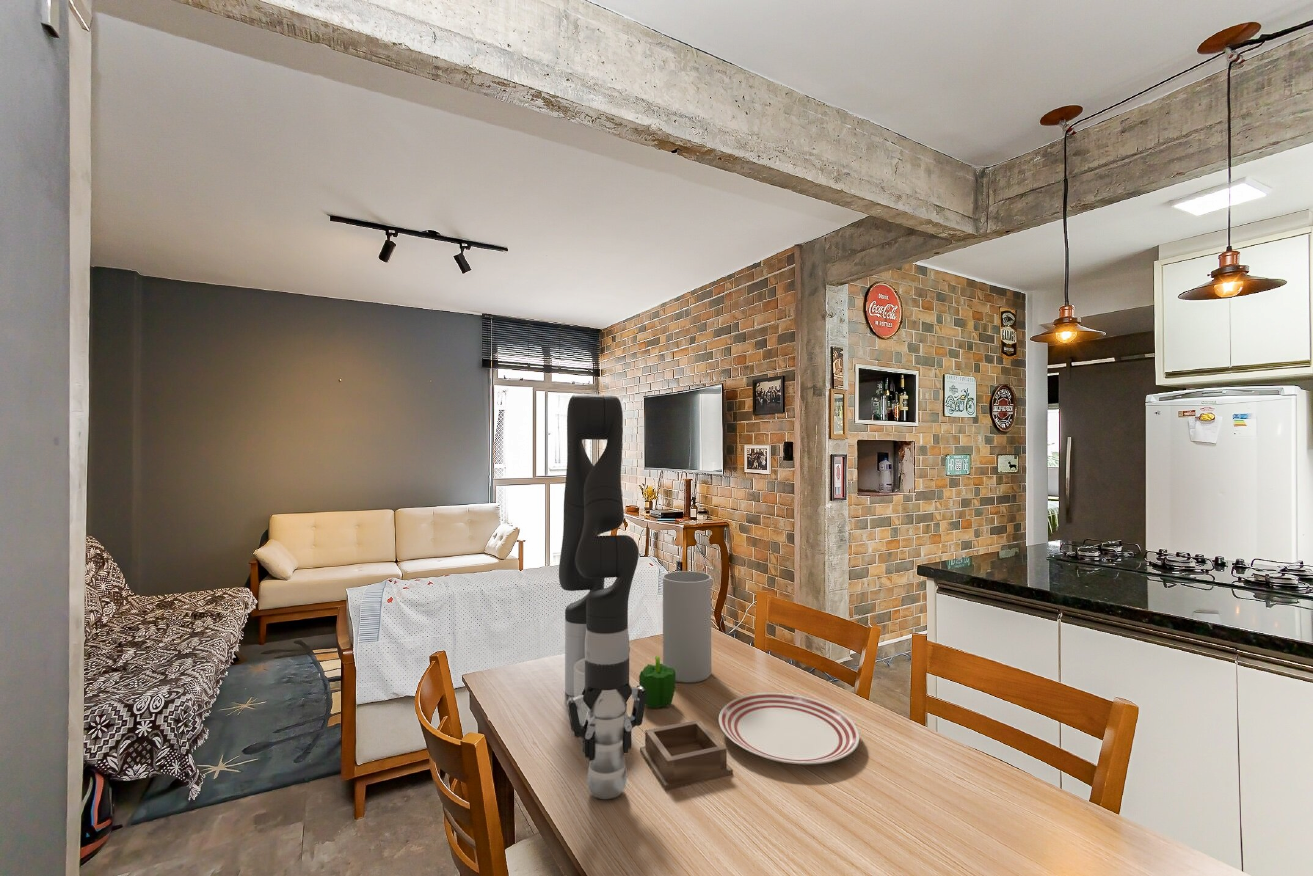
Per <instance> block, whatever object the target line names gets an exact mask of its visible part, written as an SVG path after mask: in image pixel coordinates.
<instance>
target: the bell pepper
mask: <svg viewBox="0 0 1313 876" xmlns="http://www.w3.org/2000/svg"><path fill="white" fill-rule="evenodd" d="M654 660H655V665H653V664H650V663H648V664H647V665H645V667H644V668H643V670H641V671H640V673H639V677H638V681H639V684H638V685H642V686H643V688H644V689H645V690H646V691H647V698H646V704H645V706H647V707H649V708H652V709H656V708H659V707H662V708H665V707H666V708H667V707H669V706H670V705H671V703H672V702H673V698H674V695H675V689H676V673H675V671H674V669H673V668H667V666H665V665H663V662H662V663H661V661H660V660H661V659H660V657H659V655H656V656H655V658H654Z"/></svg>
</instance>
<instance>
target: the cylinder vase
mask: <svg viewBox="0 0 1313 876" xmlns="http://www.w3.org/2000/svg"><path fill="white" fill-rule="evenodd" d="M662 664H663V665H665V666H667V668H673V669H674V671H675V673H676V681H675V683H676V682H677V683H681V684H682V683H683V684H692V683H699V682H702V681H705V680H707V679H708V678H709V677H710V676H711V675H712V575H710V574H709V573H706V572H700V571H691V570H690V571H689V570H680V571H671V572H667V573H664V574H663V575H662Z"/></svg>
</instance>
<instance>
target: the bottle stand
mask: <svg viewBox="0 0 1313 876" xmlns="http://www.w3.org/2000/svg"><path fill="white" fill-rule="evenodd" d="M644 734H645V737H644V738H645V739H644V740H645V741H644V743H645V745H644V746H641V747H639V752H640V754H641V756H642V757H643V759H644V760H645V761H646V762H645V763H647V764H648V766H649V768H650V769H651V771H652V772H653V773H654V776H655V777H656V778H657V780H658V781H659V783H660V785H661V786H662V788H663V789H664V790H665V791H669V790H672V789H676V788H681V787H684V786H689V785H693V784H697V783H702V782H705V781H709V780H714V779H718V778H722V777H727V776H730V775H731V776H733V774H734V771H733V768H732V767H731V765H729V764H728V760H727V757H728V756H727V752H728V751H727V746H725V745H724V744H723V742H721V741H720V740H719V738H717V737H716V735H714V733H712V732H711V730H710V729H709V728H708V727H707V726H706V725H705V724H704V723H703V722H702V721H701V719H697V720H696V719H695V720H690V721H686V722H681V723H676V724H671V725H664V726H660V727H655V728H649V729H646V730H645V731H644Z"/></svg>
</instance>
